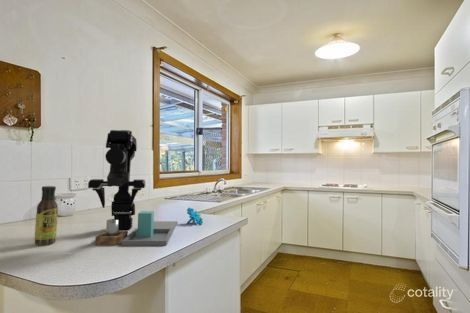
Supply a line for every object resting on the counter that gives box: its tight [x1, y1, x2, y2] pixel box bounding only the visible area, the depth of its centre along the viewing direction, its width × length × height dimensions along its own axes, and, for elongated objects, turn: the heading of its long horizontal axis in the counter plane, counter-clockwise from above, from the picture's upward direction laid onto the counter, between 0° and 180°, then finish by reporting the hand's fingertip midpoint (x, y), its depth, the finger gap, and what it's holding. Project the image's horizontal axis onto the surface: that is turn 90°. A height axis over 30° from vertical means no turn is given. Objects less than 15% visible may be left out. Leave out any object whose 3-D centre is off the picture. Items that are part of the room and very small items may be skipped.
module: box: [137, 210, 155, 237], centre depth 109 cm, size 5×5×9 cm
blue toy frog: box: [186, 207, 204, 225], centre depth 133 cm, size 11×6×10 cm
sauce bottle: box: [34, 185, 59, 246], centre depth 97 cm, size 6×6×20 cm
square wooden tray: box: [94, 230, 129, 246], centre depth 100 cm, size 8×8×3 cm
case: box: [121, 220, 179, 247], centre depth 114 cm, size 15×36×2 cm, turn 6°
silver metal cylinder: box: [105, 218, 119, 236], centre depth 100 cm, size 4×4×8 cm
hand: (117, 207), depth 101 cm, fingers open, 9 cm apart
